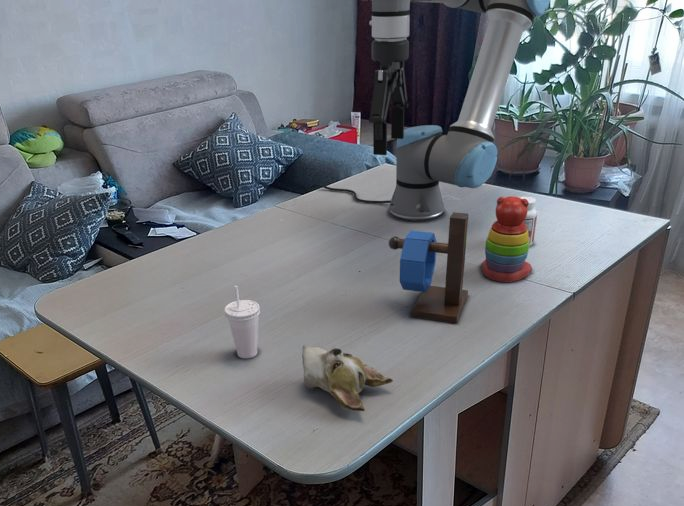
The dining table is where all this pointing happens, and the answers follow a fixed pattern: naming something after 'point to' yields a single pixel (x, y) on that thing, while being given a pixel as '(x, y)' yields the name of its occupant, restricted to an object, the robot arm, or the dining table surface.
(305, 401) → the dining table surface
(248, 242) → the dining table surface
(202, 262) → the dining table surface
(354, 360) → the ceramic sculpture
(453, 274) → the stand
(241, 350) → the smoothie
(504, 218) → the stacking bear
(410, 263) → the tape
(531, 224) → the pill bottle
